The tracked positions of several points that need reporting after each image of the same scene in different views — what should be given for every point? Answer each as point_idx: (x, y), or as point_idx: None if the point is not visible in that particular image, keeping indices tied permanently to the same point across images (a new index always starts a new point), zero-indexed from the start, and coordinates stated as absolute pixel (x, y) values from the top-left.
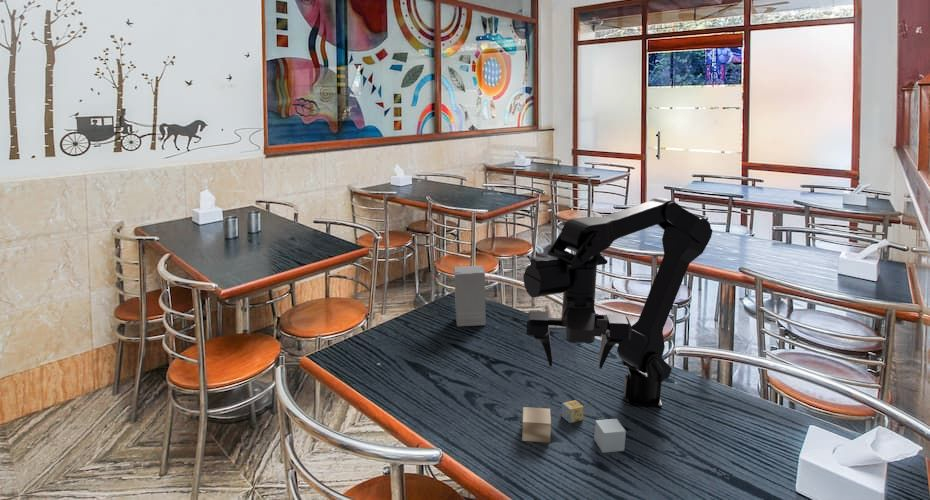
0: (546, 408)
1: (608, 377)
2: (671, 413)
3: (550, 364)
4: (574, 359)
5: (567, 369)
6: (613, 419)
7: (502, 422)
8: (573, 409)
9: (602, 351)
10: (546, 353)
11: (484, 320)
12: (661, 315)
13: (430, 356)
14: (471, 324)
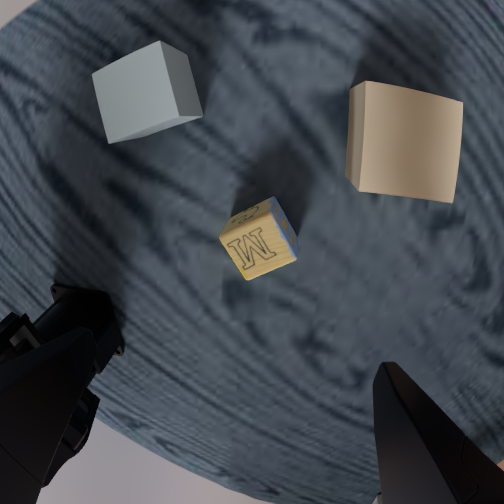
0: (372, 192)
1: (162, 394)
2: (38, 261)
3: (394, 369)
4: (233, 445)
5: (252, 424)
6: (118, 135)
7: (471, 200)
8: (258, 217)
9: (11, 397)
10: (453, 426)
11: (379, 501)
12: None
13: (499, 419)
14: None
